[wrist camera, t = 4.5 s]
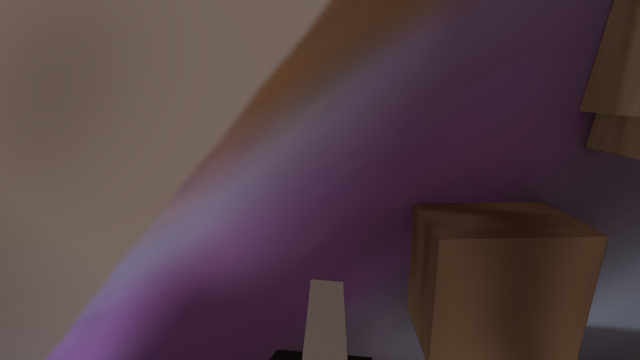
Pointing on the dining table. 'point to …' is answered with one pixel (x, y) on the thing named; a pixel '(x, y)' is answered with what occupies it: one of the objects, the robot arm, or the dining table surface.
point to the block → (501, 280)
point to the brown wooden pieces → (616, 84)
